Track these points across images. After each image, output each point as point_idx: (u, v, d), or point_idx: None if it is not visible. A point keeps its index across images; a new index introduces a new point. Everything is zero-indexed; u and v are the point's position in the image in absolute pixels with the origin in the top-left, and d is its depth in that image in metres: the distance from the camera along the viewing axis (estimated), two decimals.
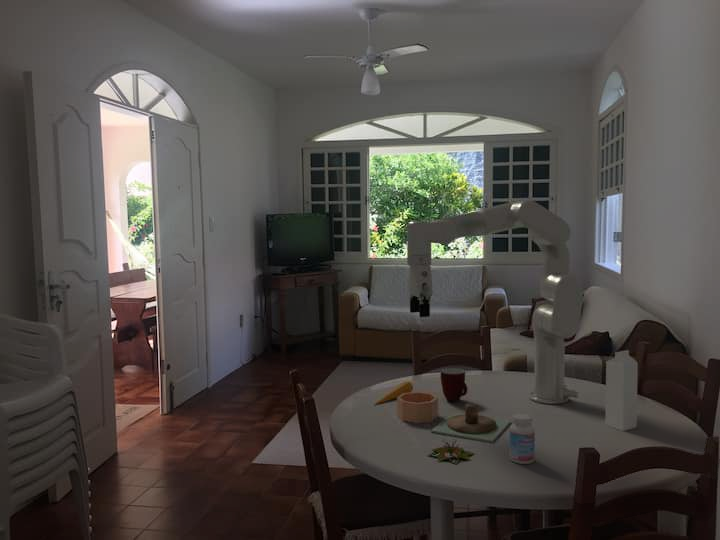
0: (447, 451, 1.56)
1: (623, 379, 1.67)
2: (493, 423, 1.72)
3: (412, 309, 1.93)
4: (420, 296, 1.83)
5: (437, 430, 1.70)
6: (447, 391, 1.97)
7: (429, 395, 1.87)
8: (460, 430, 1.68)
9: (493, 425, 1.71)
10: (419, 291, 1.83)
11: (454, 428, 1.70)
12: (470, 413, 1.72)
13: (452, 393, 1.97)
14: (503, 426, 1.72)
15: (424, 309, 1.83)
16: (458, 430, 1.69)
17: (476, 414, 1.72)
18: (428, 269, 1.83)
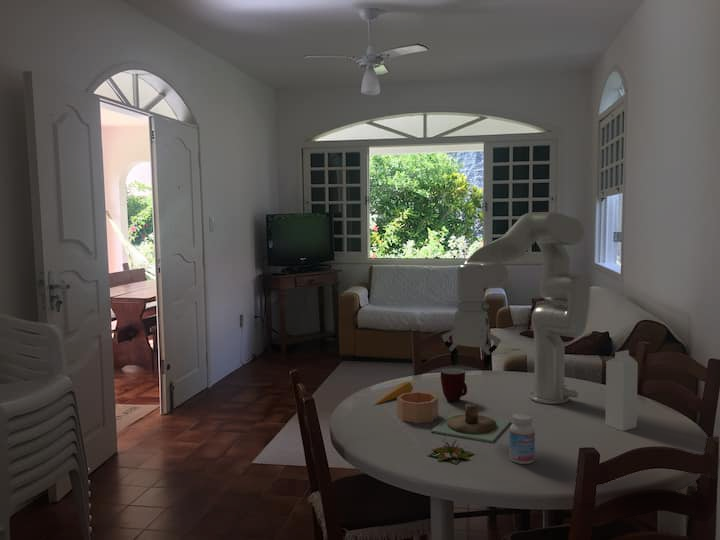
0: (447, 451, 1.56)
1: (623, 379, 1.67)
2: (493, 423, 1.72)
3: (454, 361, 1.74)
4: (485, 346, 1.68)
5: (437, 430, 1.70)
6: (447, 391, 1.97)
7: (429, 395, 1.87)
8: (460, 430, 1.68)
9: (493, 425, 1.71)
10: (485, 340, 1.68)
11: (454, 428, 1.70)
12: (470, 413, 1.72)
13: (452, 393, 1.97)
14: (503, 426, 1.72)
15: (490, 359, 1.69)
16: (458, 430, 1.69)
17: (476, 414, 1.72)
18: (487, 315, 1.70)
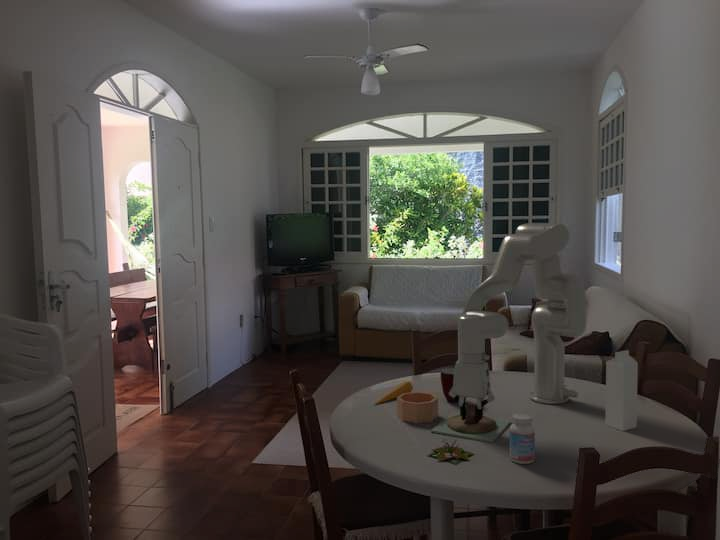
0: (447, 451, 1.55)
1: (623, 379, 1.67)
2: (493, 423, 1.72)
3: (464, 416, 1.74)
4: (480, 400, 1.70)
5: (437, 430, 1.70)
6: (447, 391, 1.97)
7: (429, 395, 1.87)
8: (460, 430, 1.68)
9: (493, 425, 1.71)
10: (486, 392, 1.69)
11: (454, 428, 1.70)
12: (470, 413, 1.72)
13: None
14: (503, 426, 1.72)
15: (481, 413, 1.72)
16: (458, 430, 1.69)
17: None
18: None
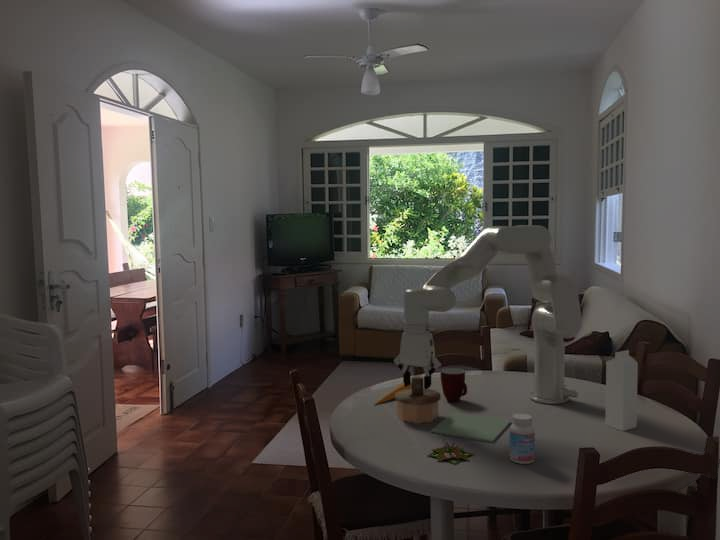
0: (447, 451, 1.55)
1: (623, 379, 1.67)
2: (438, 395, 1.82)
3: (407, 383, 1.84)
4: (427, 368, 1.80)
5: (437, 430, 1.70)
6: (447, 391, 1.97)
7: None
8: (405, 401, 1.78)
9: (437, 397, 1.81)
10: (429, 361, 1.79)
11: (400, 399, 1.80)
12: (415, 386, 1.82)
13: (452, 393, 1.97)
14: (503, 426, 1.72)
15: (429, 380, 1.81)
16: (403, 401, 1.79)
17: (421, 387, 1.82)
18: (432, 337, 1.81)
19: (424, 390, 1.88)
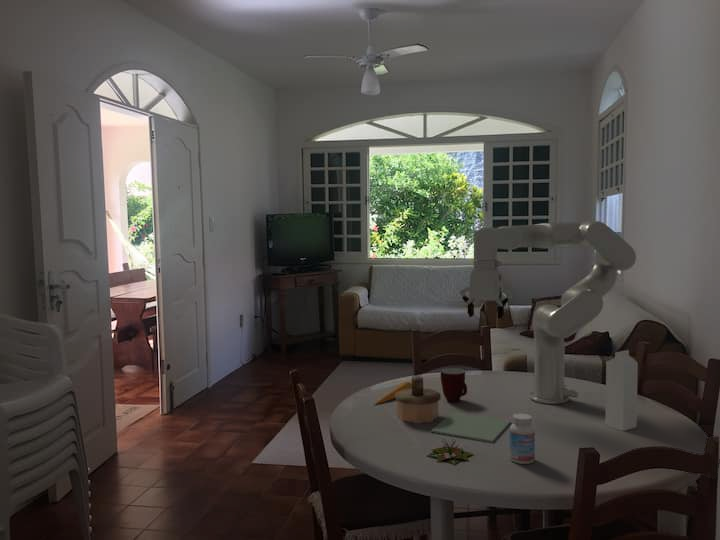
0: (446, 451, 1.55)
1: (623, 379, 1.67)
2: (438, 395, 1.82)
3: (471, 313, 1.97)
4: (498, 299, 1.92)
5: (437, 430, 1.70)
6: (447, 391, 1.97)
7: None
8: (405, 401, 1.78)
9: (437, 397, 1.81)
10: (498, 294, 1.92)
11: (400, 399, 1.80)
12: (415, 386, 1.82)
13: (452, 393, 1.97)
14: (503, 426, 1.72)
15: (502, 311, 1.93)
16: (403, 401, 1.79)
17: (421, 387, 1.82)
18: (500, 273, 1.94)
19: (424, 390, 1.88)
